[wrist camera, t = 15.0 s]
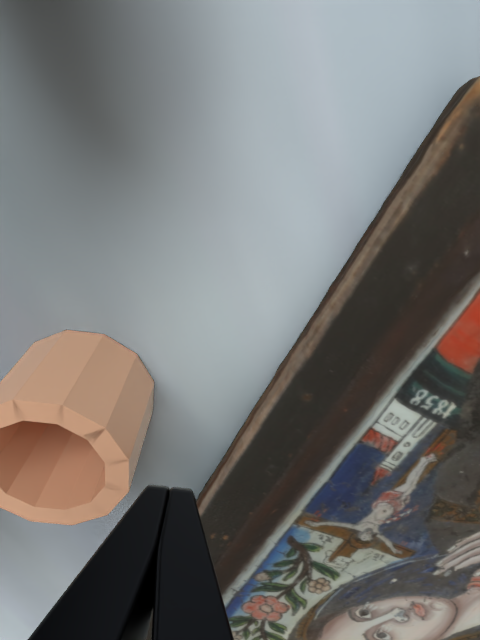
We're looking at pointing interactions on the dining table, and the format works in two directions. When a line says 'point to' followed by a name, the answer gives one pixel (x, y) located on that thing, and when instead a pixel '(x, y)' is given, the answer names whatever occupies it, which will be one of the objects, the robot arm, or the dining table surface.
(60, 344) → the terracotta cup
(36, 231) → the dining table surface
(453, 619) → the religious icon
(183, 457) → the dining table surface
